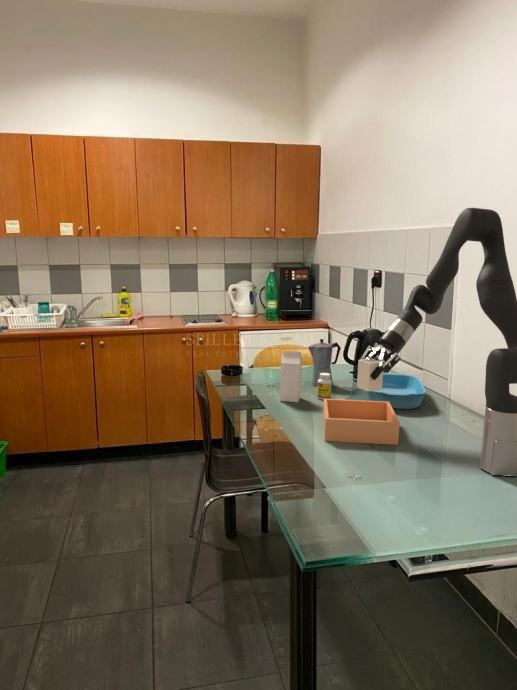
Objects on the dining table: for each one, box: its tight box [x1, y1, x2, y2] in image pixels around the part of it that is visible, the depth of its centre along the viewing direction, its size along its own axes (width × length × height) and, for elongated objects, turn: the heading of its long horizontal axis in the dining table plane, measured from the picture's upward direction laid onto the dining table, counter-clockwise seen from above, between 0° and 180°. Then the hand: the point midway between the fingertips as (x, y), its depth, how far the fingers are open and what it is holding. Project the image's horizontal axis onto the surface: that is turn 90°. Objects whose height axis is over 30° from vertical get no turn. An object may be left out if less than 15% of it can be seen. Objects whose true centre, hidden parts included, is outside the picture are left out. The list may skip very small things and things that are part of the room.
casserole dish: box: [366, 372, 427, 410], centre depth 209 cm, size 37×22×7 cm, turn 171°
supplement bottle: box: [316, 373, 333, 401], centre depth 208 cm, size 5×5×10 cm
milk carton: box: [279, 350, 303, 403], centre depth 204 cm, size 7×7×19 cm
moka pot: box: [307, 338, 341, 387], centre depth 227 cm, size 10×15×20 cm, turn 115°
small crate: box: [356, 358, 384, 392], centre depth 170 cm, size 6×6×9 cm
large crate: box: [322, 398, 401, 446], centre depth 172 cm, size 22×22×7 cm
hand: (365, 375), depth 169 cm, fingers closed on small crate, 5 cm apart
